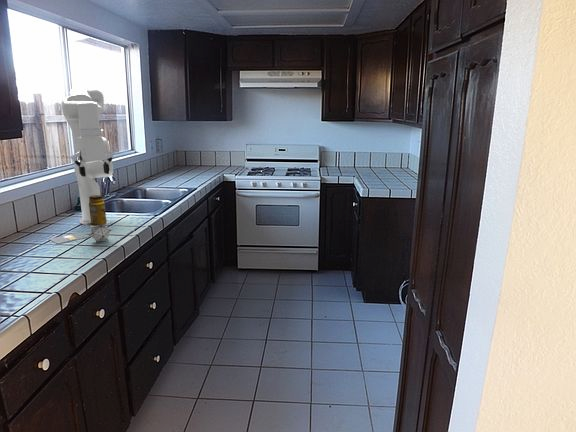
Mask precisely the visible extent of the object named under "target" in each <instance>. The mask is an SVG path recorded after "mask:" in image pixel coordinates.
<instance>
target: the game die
mask: <svg viewBox="0 0 576 432" xmlns="http://www.w3.org/2000/svg"><path fill="white" fill-rule="evenodd" d="M111 231H112V229H109V228H108V226H106V224H104V225H100V226H96V227H91V231H90V233H89V234H87V235H88V236H91V238H92V239H93V240H94V241H95V244H98V242H102V241H106V242H109V239H108V238H109V236H110V232H111Z"/></svg>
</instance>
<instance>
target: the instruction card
mask: <svg viewBox="0 0 576 432" xmlns="http://www.w3.org/2000/svg"><path fill="white" fill-rule="evenodd" d="M88 235H89V234H86V233H84V232H83V231H82V232H77V233H76V232H75V233H71V234H66V235H62V236H57V237H53V238H48V240H49V241H51V242H52V243H54V244H56V245H59V244H60V245H61V244H66V243H70V242H74V241H79V240H82V239H88V238H92V236H91V235H90V236H88Z"/></svg>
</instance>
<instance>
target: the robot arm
mask: <svg viewBox="0 0 576 432" xmlns="http://www.w3.org/2000/svg"><path fill="white" fill-rule="evenodd" d="M104 102H105V100H104V94H103V92H102V90H101V89H100V88H97V87H80V86H79V87H74V88H71V90H70V91H69V92H68V96H66V97H64V98H63V99H62V102H61V109H62V110H61V111H62V114H63V116H64V118H65V120H66V122H67V125H68V126H69V127H70V130H71V135H72V141H73V147H74V151H75V153H74V154H73V155H71V156H70V160H71V161H72V162H73V169H74V174H75V176H76V180H77V185H78V186H77V187H78V192H79V193H78V194H79V200H80V201H79V202H80V208H81V216H82V217H81V219H79V224H82V225H83V224H87V223H91V218H90V210H89V202H90V201H89V197H90V196H93V195H102V194H101V187H100V185H99V183H98V182H96V180H94V179H97V178H107V177H111V176H112V175H113V174H114V166H113V159H114V155H115V153H114V152H112V151H111V147H110V143H109V141H108V140H107V138H105V137H103V136H101V135H102V134H103V133H104V129H101V128H100V127H101V126H100V118H101V117H102V116H103V112H104V104H105V103H104ZM77 158H78V159H77ZM107 220H108V218H107V217H106V221H107Z"/></svg>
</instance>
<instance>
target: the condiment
mask: <svg viewBox="0 0 576 432" xmlns="http://www.w3.org/2000/svg"><path fill="white" fill-rule="evenodd" d="M103 196H104V195H102V194H101V195H93V196H90V197H89V201H90V202H89V210H90V218H91V223H87V224H82V225H83V226H85V227H91V228H92V227H96V226H100V225H107V224H111V221H107V220H106V218H107V214H106V207H105V204H106V203H105V201H104V197H103Z"/></svg>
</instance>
